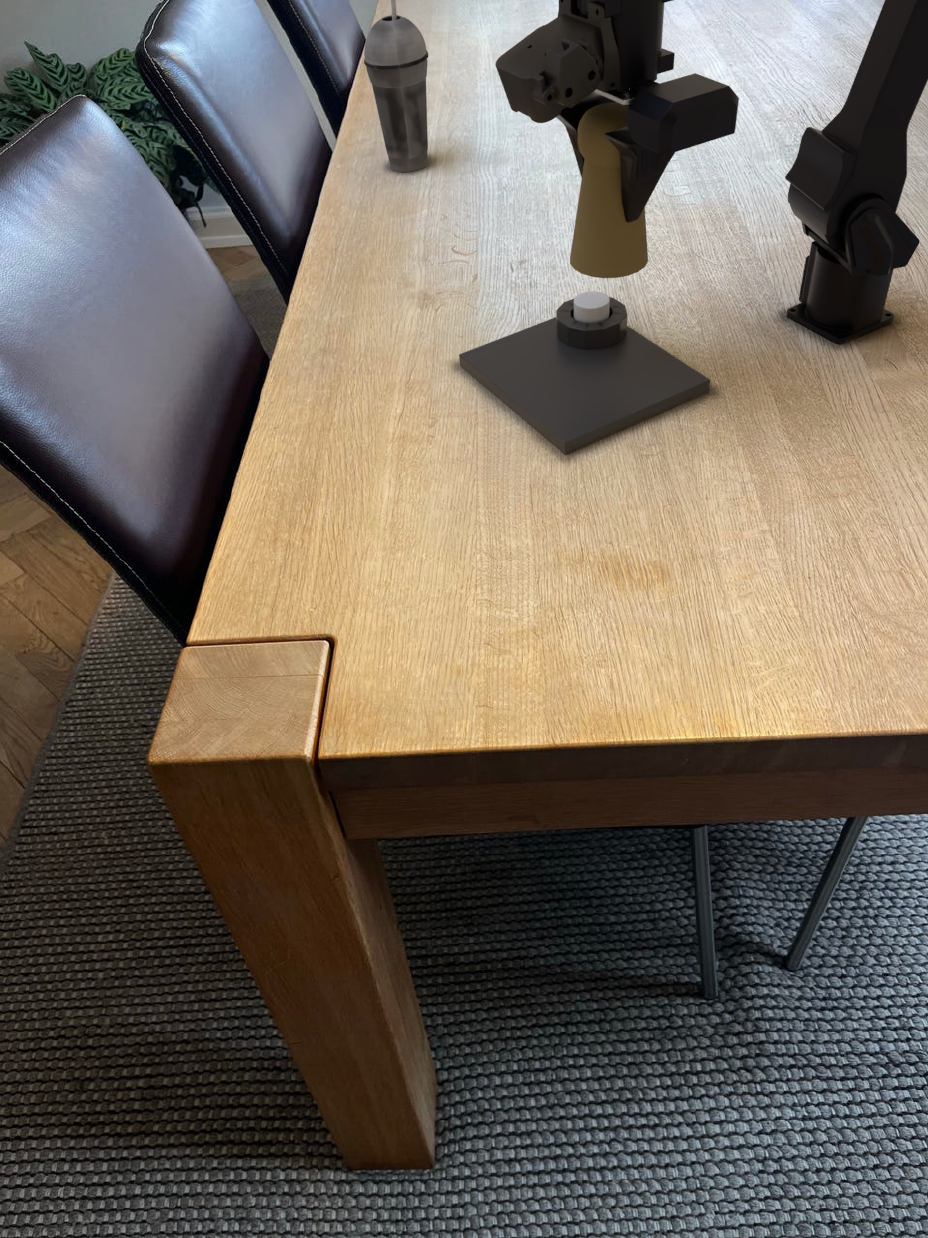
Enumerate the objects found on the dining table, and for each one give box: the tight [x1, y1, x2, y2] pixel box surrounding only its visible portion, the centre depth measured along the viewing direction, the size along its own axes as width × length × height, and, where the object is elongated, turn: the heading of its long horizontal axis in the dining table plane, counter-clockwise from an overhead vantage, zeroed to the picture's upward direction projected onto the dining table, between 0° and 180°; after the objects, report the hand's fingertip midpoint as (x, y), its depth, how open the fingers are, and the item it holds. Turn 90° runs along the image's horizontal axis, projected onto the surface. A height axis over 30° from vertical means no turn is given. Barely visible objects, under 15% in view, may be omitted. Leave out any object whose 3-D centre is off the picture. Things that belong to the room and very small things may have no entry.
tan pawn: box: [569, 102, 649, 279], centre depth 71 cm, size 6×6×11 cm
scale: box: [458, 296, 711, 456], centre depth 80 cm, size 16×14×3 cm
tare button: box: [573, 290, 610, 323], centre depth 82 cm, size 3×3×2 cm
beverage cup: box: [363, 0, 429, 173], centre depth 109 cm, size 7×7×20 cm
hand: (612, 210), depth 72 cm, fingers closed on tan pawn, 4 cm apart
